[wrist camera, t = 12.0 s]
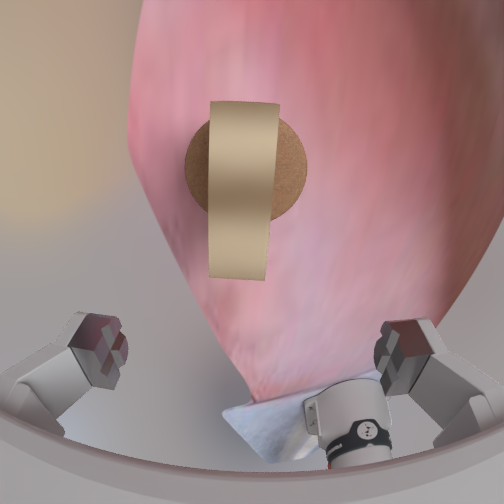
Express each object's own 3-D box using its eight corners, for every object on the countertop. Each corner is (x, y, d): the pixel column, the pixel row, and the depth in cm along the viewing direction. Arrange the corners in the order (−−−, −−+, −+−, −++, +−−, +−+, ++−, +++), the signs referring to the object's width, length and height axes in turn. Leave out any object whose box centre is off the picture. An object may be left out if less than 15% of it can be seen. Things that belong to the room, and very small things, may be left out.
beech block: (264, 242, 27) (264, 280, 22) (218, 239, 27) (208, 277, 22) (274, 103, 21) (279, 104, 16) (222, 100, 21) (210, 101, 16)
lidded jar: (306, 187, 34) (321, 218, 26) (216, 209, 35) (203, 246, 27) (283, 96, 29) (293, 95, 21) (188, 122, 30) (162, 132, 22)
